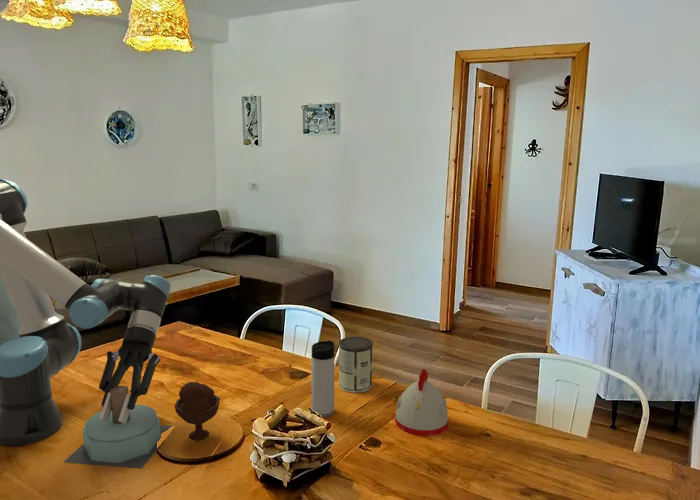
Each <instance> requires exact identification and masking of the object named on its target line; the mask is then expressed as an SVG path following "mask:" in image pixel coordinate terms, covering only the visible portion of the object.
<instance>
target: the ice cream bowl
mask: <svg viewBox="0 0 700 500" xmlns="http://www.w3.org/2000/svg"><path fill="white" fill-rule="evenodd" d="M178 396H179V398H178V399H177V400H176V402H175V405H174V409H175V413H176V415H177V416H178V417H179V418H181V419H182V420H183V421H184V422H185V423H187V424H191V425H194V429H195V430H193V431H191V432H190V433H189V434H188V437H189V438H190V439H191V440H190V439H189V438H188V439H189V440H190V441H192V440H195V441H194V442H199V441H200V440H201V441H204V439H205V438H206V439H208V438H209V437H210V435H209V433H210V432H209V431H208V430H207V429H203V424H204V423H206V422H208V421H209V420H211V419H213V418H214V416H215V415H217V413H218V410H219V406H220V402H221V397H219V396H217V395H216V394H215V390H213V388H212V387H210V386H209V385H207V384H205V383H200V382H198V381H189V382H186V383H185V384H184V385H182V387H180V390H179V392H178ZM208 436H209V437H208ZM207 437H208V438H207ZM206 439H205V440H206ZM201 441H200V442H201Z"/></svg>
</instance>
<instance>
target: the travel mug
mask: <svg viewBox="0 0 700 500" xmlns="http://www.w3.org/2000/svg"><path fill="white" fill-rule="evenodd" d="M310 362H311V365H310V366H311V382H310V383H311V387H310V388H311V396H310V397H311V400H310V401H311V409H312V410H313V411H315V412H317V413H319V414H320V415H321V416H322V417H323V418H329V417H331V416H333V415H334V413H335V342H334V341H332V340H324V341H323V340H321V341H318V342H315V343H313V344H312V345H311V361H310ZM311 409H310V410H311ZM322 417H321V418H322Z"/></svg>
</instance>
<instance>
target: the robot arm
mask: <svg viewBox="0 0 700 500" xmlns="http://www.w3.org/2000/svg"><path fill="white" fill-rule="evenodd" d="M27 208H28V199H27V195H26V193H25V192H24V190H23V189H22V187H20V186H19V185H18V184H17V183H15V182H13V181H12V180H10V179H7V178H0V275H1V277H2V280H3V283H4V285H5V287H6V290H7V292H8V295H9V297H10V299H11V300H10V301H11V302H12V305H13V307H14V309H15V312H16V314H17V316H18V319H19V322H20V324H21V326H20V328H19V330H18V333H17V335H19V336H18V337H16V338H15V339H10V340H8V341H6V342H4V343H3V344H1V345H0V445H2V446H7V447H17V446H26V445H28V444H33V443H36V442H39V441H42V440H44V439H46V438H49V437H51V436H53V435H54V434H56V433H57V432H58V431H59V430H60V429H61V428H62V426H63V417H62V413H61V412H60V411H59V409H58V406H57V404H56V402H55V400H54V398H53V395H52V393H53V392H52V383H51V382H52V381H51V378H53V377H54V376H55V375H57V374H58V373H59V372H61V371H62V370H63V369H64V368H66V367H68V366H69V365H71V364H72V363H73V362H74V360H75V359H76V358H77V356H78V355H79V353H80V351H81V349H82V336H81V334H80V332H79V331H78V329H77V327H78V328H80V329H84V330H85V329H92V328H94V327H96V326H98V325H100V324H101V323H103V322H105V320H106V319H107V318H109V317H110V316H111V315H113V314H115V313H116V312H117V311H119V310H124V311H125V310H126V311H132V313H131V315H130V318H129V321H128V323H127V328H126V330H125V332H124V333H125V334H124V335H123V338H122V344H121V346H120V347H119V348H118V350H115V351H113V352H112V351H111V350H109V351H107V352H106V363H105V365H104V369H103V372H102V376H101V377H100V378H101V379H100V382H99V386H98V389H99V390H101V392H103V393H104V395H103V398H102V401H101V407H103V408H102V410H101V411H102V413H101V416H100V420H101V421H103V422H104V423H107V422H108V419H109V416H110V413H111V410H112V407H111V395H110V390H111V389H112V388H114V387H117V386H120V383H121V381H122V379H123V378H124V376H125V374H126V372H127V371H128V370H129V369H130V367H132V376H131V377H132V378H131V384H130V385H131V386H130V390H128V393H129V394H127V395H126V398H125V401H124V404H123V407H122V410H121V413H120V417H119V420H118V421H119V422H121V423H122V424H126V423H127V419H128V416H129V413H130V410H133V409H134V408H135V404H137V401H138V398H139V397H140V396H145V395H148V391H149V389H150V386H151V382H152V379H153V376H154V375H155V374H154V373H155V371H156V367H157V366H158V365H159V363H160V362H161V357H160V356H159V355H158V354H156V353H153V351H152V349H153V348H154V344H155V341H156V339H157V336H156V335H158V331H159V328H160V326H161V322H162V317H163V316H164V311H165V308H166V307H167V306H166V305H167V303H168V300H169V294H170V290H171V284H170V282H169V281H168V279H167V278H164V277H163V276H160V275H155V274H151V275H146V276H145V277H143V280H142V281H141V282H133V281H125V280H117V279H112V278H97V279H95V280H94V281H93V282H92V284H91V285H90V284H88V283H86V282H85V281H84V280H83V279H82V278H80V277H79V276H78V275H76V274H75V273H73V272H72V271H71V270H69V269H68V268H67V267H65V266H64V265H63V264H62V263H60V262H58V261H57V260H56V259H54V257H52V256H50V255H49V254H48V253H47V252H45V251H44V250H43V249H41V247H39V246H37V245H36V244H35V243H33V242H32V241H31V240H29V239H28V238H27V236H26V234H25V232H24V229H25V227H26V226H27V224H28V221H27V220H26V219H27V218H26V216H25V212H26V209H27ZM51 298H52V299H53V300H54V301H56V302H57V303H59V304H60V305H61V306H63V307H64V308H66V309H67V310H68V317H69V319H70V321H71V323H72V324H73V325H74V326H73V325H72V324H70V323H68V322H67V320H66V318H65V316H64V315H62V314H59V313H57V312H56V310H55V308H54V305H53V301H52V299H51ZM75 326H76V327H75ZM118 360H119V361H118ZM117 361H118V363H117ZM146 362H147V365H146V367H145V369H144V364H145V363H146ZM116 364H117V367H116ZM143 369H144V370H143ZM143 371H144V373H142V372H143ZM142 375H143V376H142Z"/></svg>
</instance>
